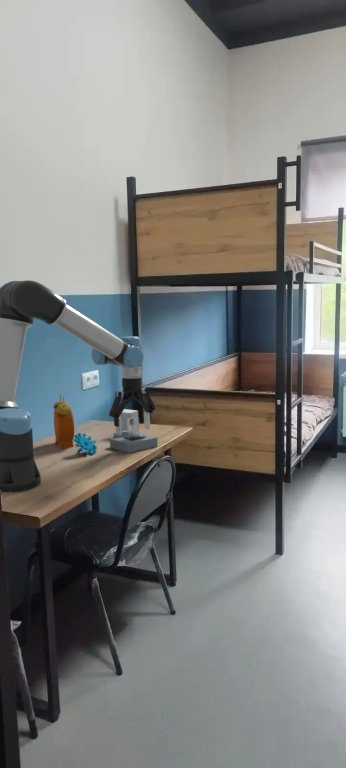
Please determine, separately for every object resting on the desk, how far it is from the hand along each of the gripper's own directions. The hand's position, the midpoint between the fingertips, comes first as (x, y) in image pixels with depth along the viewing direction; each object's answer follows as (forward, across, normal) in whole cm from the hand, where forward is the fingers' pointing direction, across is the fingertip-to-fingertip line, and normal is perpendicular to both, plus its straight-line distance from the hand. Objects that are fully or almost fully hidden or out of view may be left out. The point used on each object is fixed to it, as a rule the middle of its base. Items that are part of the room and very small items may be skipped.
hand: (133, 431), depth 227 cm
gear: (+6, -18, +5) cm, 20 cm away
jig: (+6, 0, 0) cm, 6 cm away
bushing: (+6, 0, 0) cm, 6 cm away
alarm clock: (+6, -18, +22) cm, 29 cm away
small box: (+6, +9, +17) cm, 20 cm away
